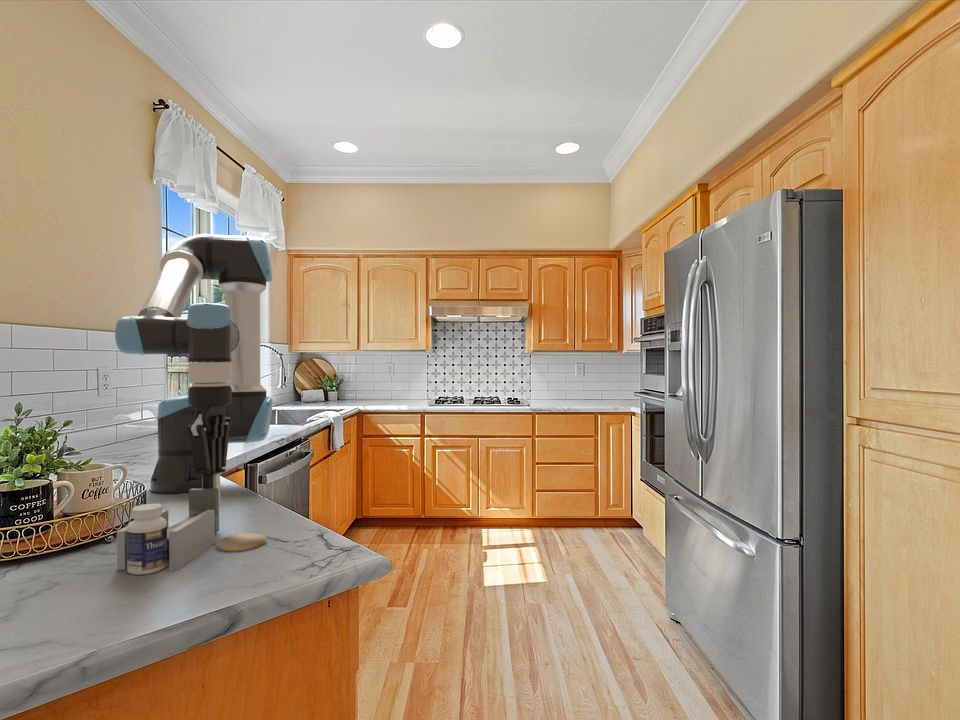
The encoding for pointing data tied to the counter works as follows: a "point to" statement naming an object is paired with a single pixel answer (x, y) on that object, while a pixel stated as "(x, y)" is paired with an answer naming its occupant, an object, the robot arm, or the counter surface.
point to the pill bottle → (146, 540)
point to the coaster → (241, 542)
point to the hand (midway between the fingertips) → (211, 508)
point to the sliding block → (199, 508)
